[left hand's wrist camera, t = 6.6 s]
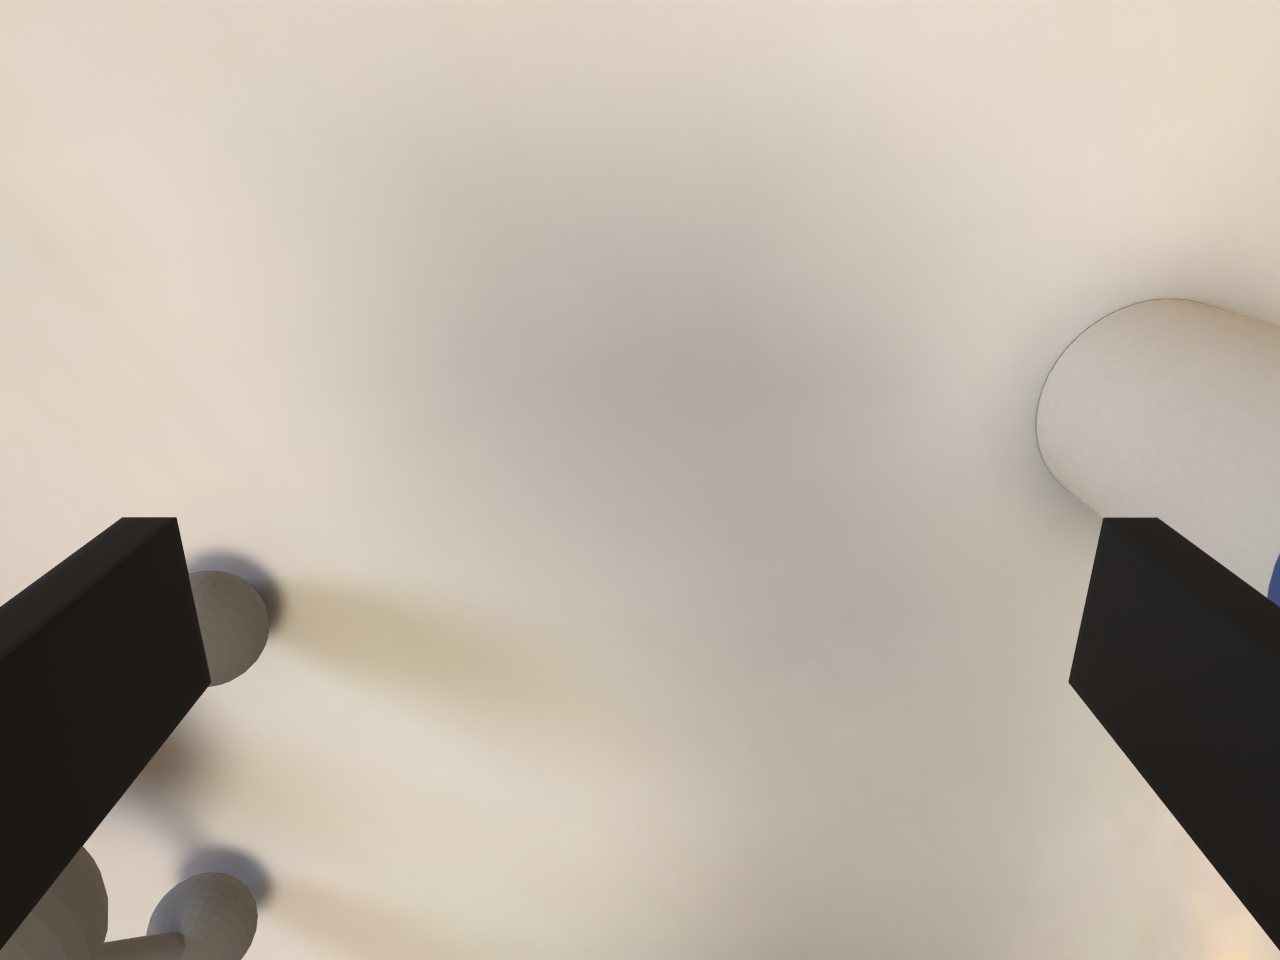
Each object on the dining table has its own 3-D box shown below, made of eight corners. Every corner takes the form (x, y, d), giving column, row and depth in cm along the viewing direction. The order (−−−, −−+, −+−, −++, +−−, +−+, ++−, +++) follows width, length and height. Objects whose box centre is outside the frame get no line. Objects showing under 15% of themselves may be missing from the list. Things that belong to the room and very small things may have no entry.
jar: (1015, 502, 42) (1264, 743, 26) (1063, 292, 39) (1391, 412, 22) (1220, 512, 43) (1602, 758, 26) (1287, 304, 39) (1785, 432, 22)
